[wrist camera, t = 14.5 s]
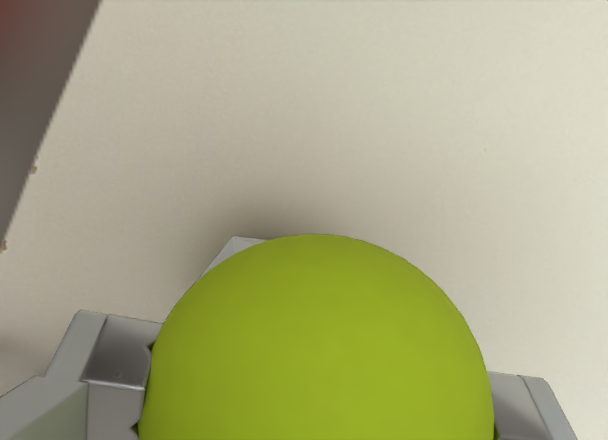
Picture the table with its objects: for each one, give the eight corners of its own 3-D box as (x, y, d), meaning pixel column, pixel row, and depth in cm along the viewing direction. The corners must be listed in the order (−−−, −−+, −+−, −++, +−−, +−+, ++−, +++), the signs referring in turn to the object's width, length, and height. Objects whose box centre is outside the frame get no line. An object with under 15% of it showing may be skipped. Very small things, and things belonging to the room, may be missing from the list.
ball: (160, 374, 14) (82, 671, 9) (188, 149, 11) (97, 394, 6) (399, 408, 15) (459, 697, 9) (487, 205, 12) (646, 467, 6)
